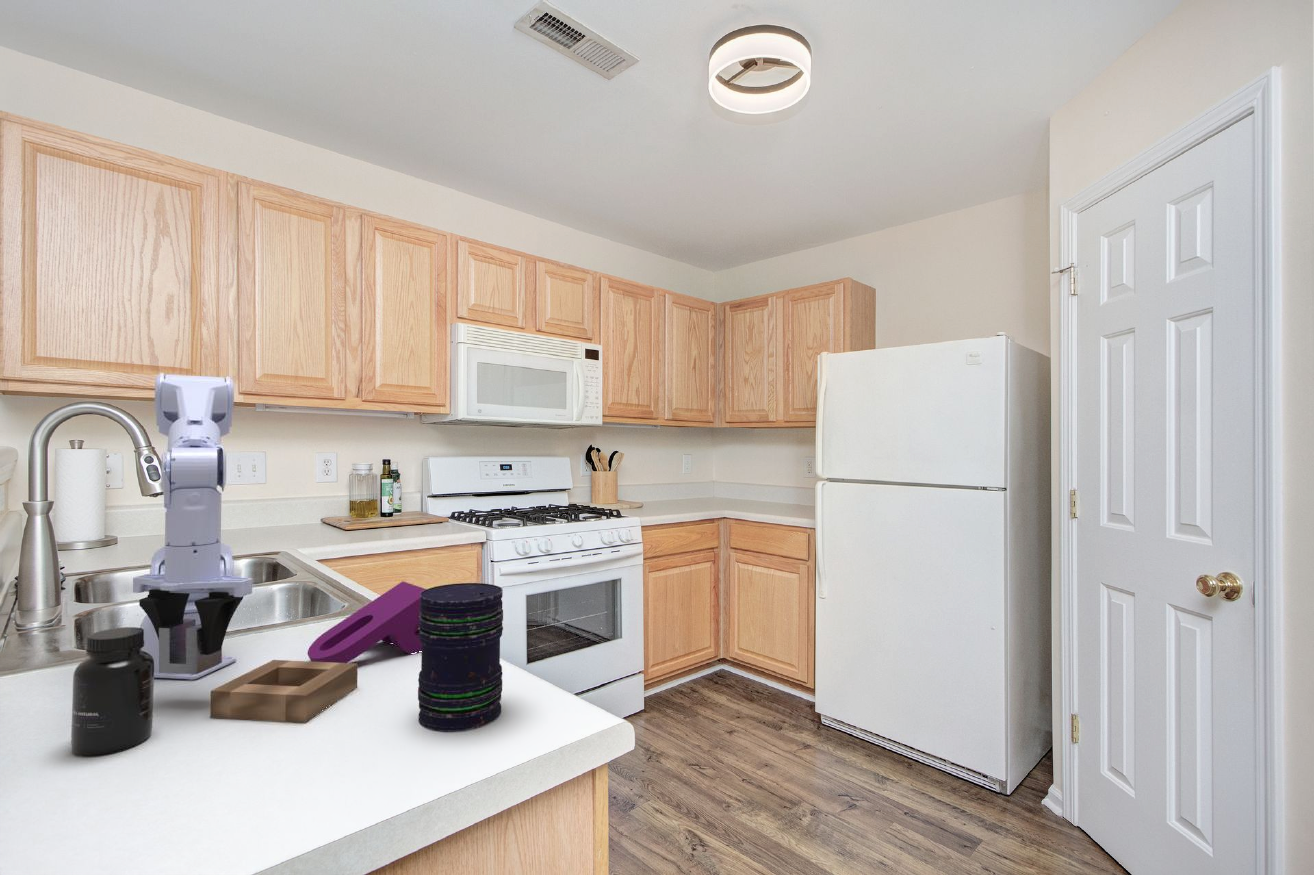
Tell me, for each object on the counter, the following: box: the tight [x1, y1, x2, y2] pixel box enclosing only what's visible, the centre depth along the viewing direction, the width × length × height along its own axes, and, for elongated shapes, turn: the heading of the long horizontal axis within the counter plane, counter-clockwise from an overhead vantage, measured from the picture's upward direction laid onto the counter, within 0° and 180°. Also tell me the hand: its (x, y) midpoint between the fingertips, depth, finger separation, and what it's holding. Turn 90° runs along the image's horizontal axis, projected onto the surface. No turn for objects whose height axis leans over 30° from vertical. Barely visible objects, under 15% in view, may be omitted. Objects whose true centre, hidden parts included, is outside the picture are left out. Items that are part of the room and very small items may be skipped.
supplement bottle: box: [70, 626, 155, 757], centre depth 71 cm, size 7×7×12 cm
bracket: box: [159, 619, 223, 674], centre depth 81 cm, size 5×4×6 cm
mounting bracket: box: [306, 581, 427, 663], centre depth 101 cm, size 9×8×18 cm
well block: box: [209, 659, 359, 724], centre depth 82 cm, size 12×11×3 cm
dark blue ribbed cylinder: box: [417, 582, 504, 733], centre depth 79 cm, size 10×10×15 cm
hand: (191, 651), depth 81 cm, fingers closed on bracket, 5 cm apart
